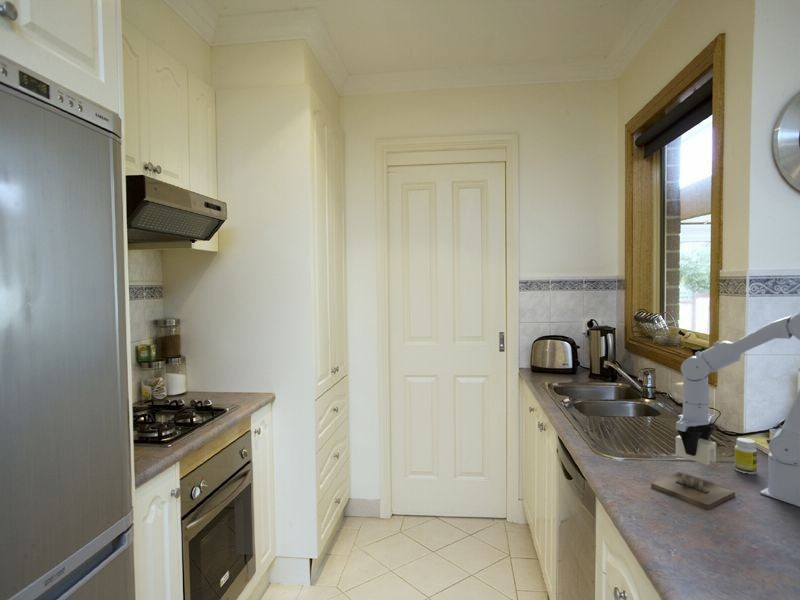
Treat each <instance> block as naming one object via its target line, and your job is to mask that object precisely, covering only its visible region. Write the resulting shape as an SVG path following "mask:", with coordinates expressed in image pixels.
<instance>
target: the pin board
mask: <svg viewBox="0 0 800 600" xmlns="http://www.w3.org/2000/svg"><path fill="white" fill-rule="evenodd" d="M650 485H651V486H650V487H651V488H653V489H655V490H658V491H661V492H662V493H666V494H668V495H670V496H673V497H676V498H678V499H681V500H684V501H685V502H688V503H691V504H693V505H696V506H699V507H700V508H704V509H706V510H709V509H712V508H714V507H716V506H718V505H719V504H722V503H723V502H725V501H728V500H729V499H731V498H734V497H735V496H736V491H733V490H731V489H727V488H725V487H722V486H719V485H717V484H713V483H711V482H707V481H705V480H702V479H699V478H696V477H694V476H691V475H688V474H685V473H682V472H675V473H673V474H670V475H667V476H665V477H663V478H661V479H658V480H655V481H653V482H651V483H650Z"/></svg>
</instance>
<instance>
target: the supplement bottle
mask: <svg viewBox="0 0 800 600" xmlns="http://www.w3.org/2000/svg"><path fill="white" fill-rule="evenodd" d="M756 446H757V445H756V441H755V440H754V439H751V438H747V437H737V438H736V445H735V446H734V470H735V471H737V472H738V471H739V472H738V473H741V472H742V474H745V473H748V474H747V475H755V474H757V471H758V470H757V469H758V468H757V464H758V463H757V462H758V451H757V448H756Z"/></svg>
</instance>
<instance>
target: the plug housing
mask: <svg viewBox="0 0 800 600" xmlns="http://www.w3.org/2000/svg"><path fill="white" fill-rule="evenodd" d="M675 456H678V457H681V458H685V459H687V460H691V461H694V462H697V463H699V464H704V465H706V466H709V465H711V463H716V462H717V442H714V441H711V440H704V439H701V438H699V440H698V444H697V451H696V455H695V456H692V455H689V454H686V452H685V448H684V445H683V442H682V439H681V437H680V435H679V434H678V435H677V436H675Z"/></svg>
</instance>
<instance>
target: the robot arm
mask: <svg viewBox="0 0 800 600" xmlns="http://www.w3.org/2000/svg"><path fill="white" fill-rule="evenodd" d="M792 337H795V338H796V339H797V340H799V341H800V311H799V312H798V313H797V314H795V315H793V314H792V315H789V316H785V317H783V318H780V319H777V320H775V321H772V322H770V323H768V324H766V325H764V326H762V327H761V328H758V329H757V330H755V331H754V330H753V332H750V333H748V334H747V335H745V336H743V337H741V338H739V339H737V340H736V341H733V342H732V341H728V340H723V341H721V342H720V341H719V340H717V341H715V342H713V343H712V345H713V346H711V347H708V348H707V349H704V350H702V351H700V350H698V351H696V352H695V353H694V354H695V355H692V356H690V357H687V358H686V359H685V360H684V361H682V363H681V365H680V373H681V374H682V375H683V376H682V377H683V378H682V379H683V383H682V414H679V415H678V416H677V417H678V419H679V420H678V421H675V431H676V432H677V433H678V436H679V435H680V437H681V439H682V442H683V445H684V448H685V452H686V454H689V455H692V456H695V455H696V451H697V444H698V440H699V438H701V439H704V440H708V441H710V440H709V439H710V437H711V436H712V434H713V432H714V431H715V430H716V429H715V428H716V426H715V425H712V424H710V423H714V422H715V415H714V414H711V413H710V412H709V411H710V409H709V406H710V398H709V397H710V391H709V390H710V387H709V375H710V374H711V373H716V372H718V371H720V370H722V369H724V368H726V367H729V366H731V365H733V364H736V363H737V362H740V360H741V357H742V353H745V352H748V351H750V350H752V349H754V348H757V347H759V346H761V345H763V344H765V343H768V342H770V341H772V340H775V339H781V340H782V339H785V340H786V339H788V340H789V339H791V338H792ZM768 449H769V450H768V451H769V453H768V456H767V457H768V461H767V462H768V464H767V468H768V470H767V487H766V488H764V489H762V490H760V492H759V493H760V494H761V495H764V496H767V497H770V498H773V499H776V500H779V501H782V502H785V503H788V504H791V505H792V506H793V505H794V506H796V507H799V508H800V389H799V390H798V393H797V394H796V397H795V399H794V402H793V403H792V406H791V408H790V410H789V412H788V414H787V417H786V419H785V421H784V423H783V424H782V426H781V427H778V428H777V429H776V430H775V431H774V433H773V436H772V438H771V440H770V441H769V443H768Z"/></svg>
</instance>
